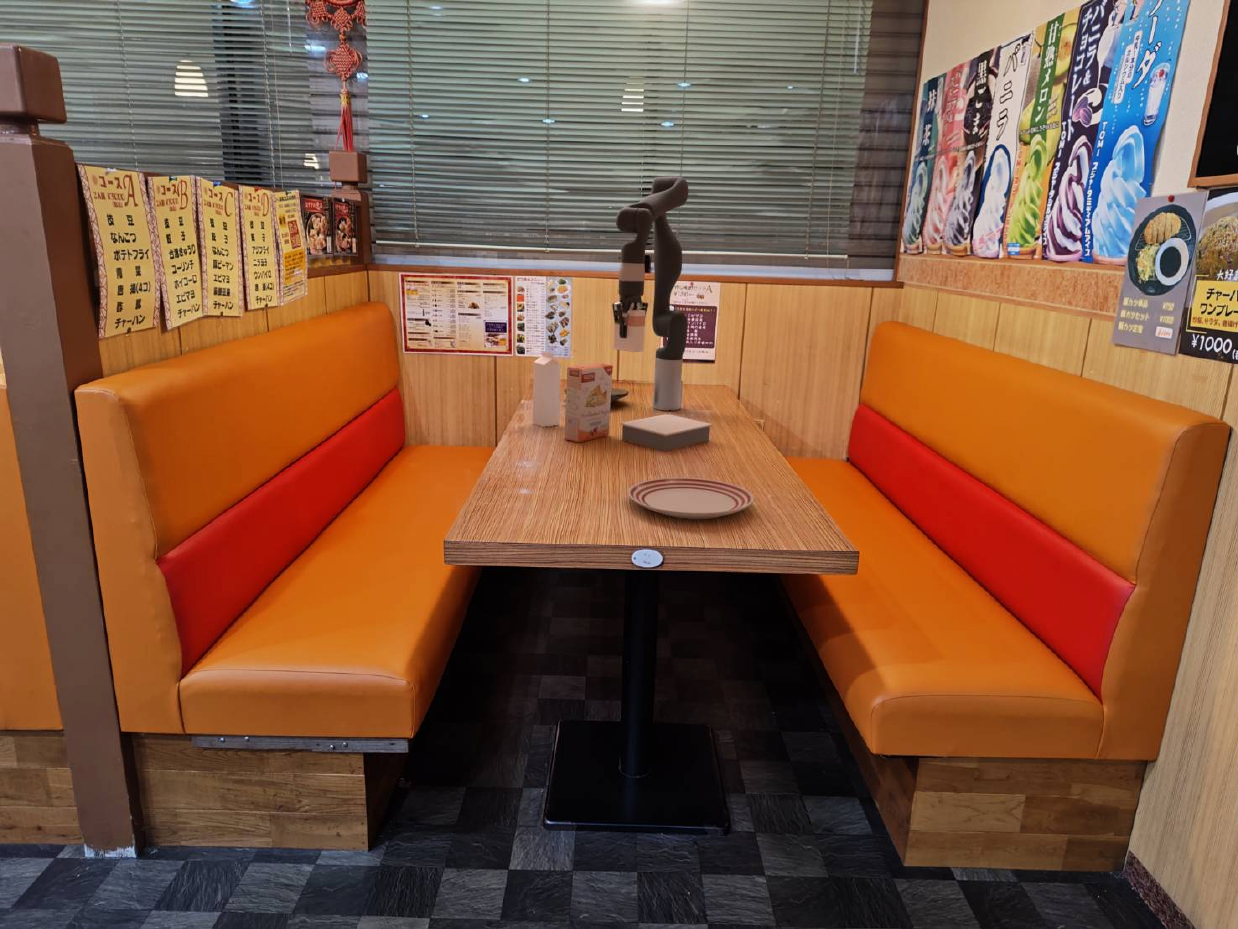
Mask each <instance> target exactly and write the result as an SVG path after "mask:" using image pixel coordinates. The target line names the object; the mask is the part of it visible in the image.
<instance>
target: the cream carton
mask: <svg viewBox="0 0 1238 929" xmlns="http://www.w3.org/2000/svg"><path fill="white" fill-rule="evenodd" d="M622 314H627V313H623V311H622ZM618 319H619V316H618ZM624 319H625V317H623V321H624ZM613 321H614V320H613ZM613 324H614V326H613V327H614V328H613V350H616V351H618V350H619V351H622V352H623V351H624V352H630V353H639V352H644V347H645V346H644V344H645V342H644V341H645V329H646V328H645V326H646V317H645V311H644V310H630V313H629V318H628V323H627V325H626V326H627V338H620V335H619V330H620V325H619V324H618V323H615V321H614V323H613Z"/></svg>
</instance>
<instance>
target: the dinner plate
mask: <svg viewBox="0 0 1238 929" xmlns="http://www.w3.org/2000/svg"><path fill="white" fill-rule="evenodd" d="M627 495H628V497H629V499H631V500H632V501H633V502H635V503H636V504H638V505H639V506H641V507H643V508H646V509H648V510H650V511H653V512H656V513H658V512H659V513H658V514H661V513H662V514H661V515H664V514H665V516H667V515H669V516H668V517H671V516H673V517H672V518H676V517H677V519H683V518H688V520H707V519H708V520H709V519H716V518H721V517H723V516H727V515H732V514H735V513H738V512H742V511H743V510H745V509H747V508H748V507H750V506H751V505H752V504H753V502H754V499H755V498H754V495H753V494H752V493H751V492H750V491H749V490H747V489H745V488H743V487H741V486H740V485H739V486H738V485H735V484H733V483H729V482H726V481H720V480H715V479H709V478H699V477H682V476H681V477H680V476H679V477H674V476H673V477H660V478H654V479H648V480H643V481H640V482H638V483H635V484H633V485H632V486H630V487H629V488H628V490H627Z"/></svg>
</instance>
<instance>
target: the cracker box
mask: <svg viewBox="0 0 1238 929" xmlns="http://www.w3.org/2000/svg"><path fill="white" fill-rule="evenodd" d="M613 368H614V367H613V365H611V364H607V363H599V362H596V363H588V364H581V365H574V366H567V368H566V371H567V372H566V388H565V389H566V394H565V414H564V415H565V418H564V437H563V438H564V440H567V441H570V442H575V443H582V442H586V441H591V440H594V439H598V437H599V438H603V437H602V436H604V437H607V435H608V436H609V434H610V433H609V432H610V419H611V418H610V417H611V416H610V415H611V403H612V402H611V388H612V386H613V384H612V382H613Z"/></svg>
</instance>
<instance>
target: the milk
mask: <svg viewBox="0 0 1238 929" xmlns="http://www.w3.org/2000/svg"><path fill="white" fill-rule="evenodd" d="M561 366H562V364H561V362H559V361H557V360H556V359H554V353H553V352H548V351H543V350H542V351H541V356H540V357H539V358H537V359H536V360H534V361H533V377H532V380H533V386H532V424H534V425H537V426H539V425H540V426H539V427H541V428H545V427H546V426H547V427H553V425H556V426H560V416H561V415H560V414H561V413H560V411H561V410H560V409H561V408H560V407H561V374H562V372H561V371H562V369H561Z"/></svg>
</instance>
